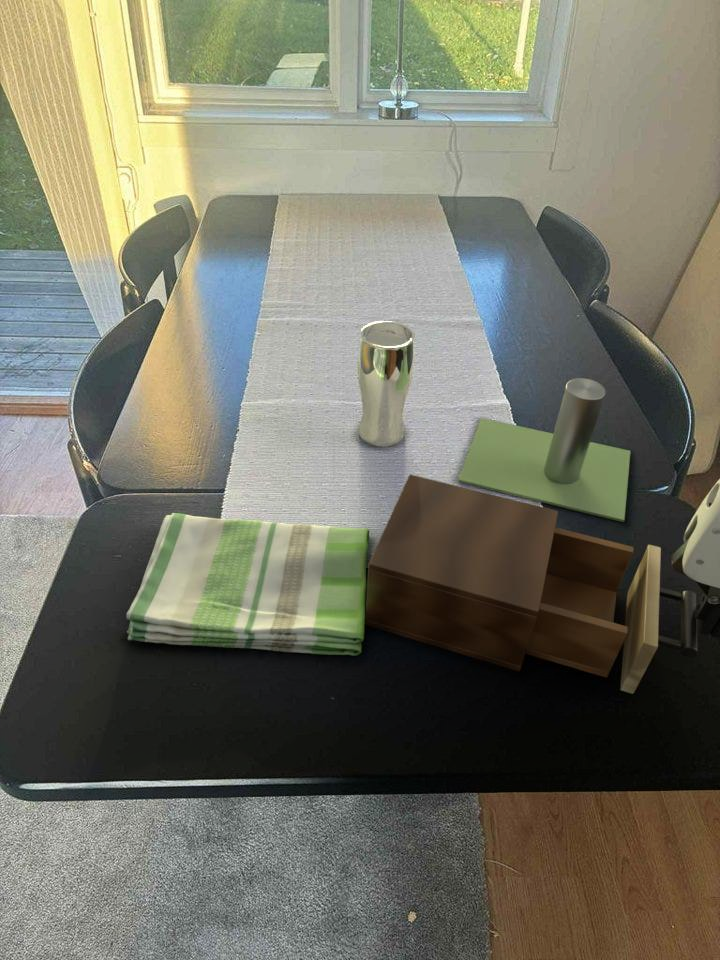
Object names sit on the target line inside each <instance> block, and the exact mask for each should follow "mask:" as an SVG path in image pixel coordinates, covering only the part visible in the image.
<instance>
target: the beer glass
mask: <svg viewBox="0 0 720 960" xmlns="http://www.w3.org/2000/svg"><path fill="white" fill-rule="evenodd" d="M359 336H360V338H359V344H358V346H359V347H358V355H357V379H358V386H359V391H360V398H361V405H362V414H361V420H360V424H359V426H358V427H359V428H358V434H359V437H360V439H361V440H362V441H363V442H365V443H366V444H368V445H371V446H374V447H379V448H383V447H384V448H385V447H391V446H395V445H396V444H397V445H398V443H400V442H401V441H402V440H403V438H404V436H405V426H404V419H403V414H404V408H405V404H406V401H407V397H408V394H409V390H410V387H411V384H412V379H413V375H414V365H415V332H414V331H413V330H412V328H410V327H409V326H408V325H406V324H404V323H401V322H397V321H391V320H385V321H384V320H380V321H374V322H371V323H368V324H367V325H365V326H363V328H361V331H360V335H359Z"/></svg>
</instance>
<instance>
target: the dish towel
mask: <svg viewBox="0 0 720 960" xmlns="http://www.w3.org/2000/svg"><path fill="white" fill-rule="evenodd" d="M370 532H371V531H370V529H368V528H364V527H362V528H355V527H353V528H352V527H343V526H342V527H341V526H329V525H327V526H325V525H315V524H306V523H281V522H270V521H269V522H268V521H262V520H251V519H238V518H237V519H236V518H235V519H228V518H223V519H222V518H215V517H214V518H213V517H206V516H196V515H195V516H194V515H191V514H185V513H180V512H172V513H171V514H166V515H165V516H164V518H163V520H162V523H161V525H160V529H159V532H158V534H157V537H156V539H155V543H154V546H153V548H152V552H151V555H150V557H149V560H148V563H147V565H146V569H145V571H144V575H143V577H142V581H141V584H140V587H139V589H138V591H137V593H136V595H135V597H134V599H133V601H132V602H131V604H130V607H129V609H128V611H127V612H126V614H125V615H126V619H127V620H128V621H130V622H129V625H128V630H127V631H126V633H127V635H128V636H127V640H128V641H136V642H144V643H154V644H167V645H175V646H176V645H177V646H193V647H194V646H195V647H196V646H197V647H198V646H199V647H211V648H213V647H214V648H215V647H216V648H226V649H228V648H229V649H236V648H238V649H254V650H255V649H256V650H265V651H272V652H282V653H299V654H312V655H325V656H326V655H329V656H333V655H335V656H338V655H339V656H352V657H354V656H355V657H356V656H358V655H360V654H361V653H362V642H363V641H364V640H365V626H366V625H365V618H366V594H367V562H368V551H369V547H368V546H369V543H370Z"/></svg>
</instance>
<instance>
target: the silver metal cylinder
mask: <svg viewBox="0 0 720 960" xmlns="http://www.w3.org/2000/svg"><path fill="white" fill-rule="evenodd" d="M605 396H606V389H605V387H604V386H603V385H602V384H601V383H599V382H598V381H595V380H593V379H591V378H590V379H589V378H583V377H580V378H579V377H578V378H573V379H570V380H569V381H567V383H566V385H565V389H564V392H563V396H562V400H561V403H560V407H559V411H558V415H557V418H556V423H555V426H554V430H553V433H552V434H553V437H552V441H551V444H550V448H549V452H548V456H547V459H546V463H545V467H544V473H545V475H546V476H547V477H548V478H549V479H550V480H552V481H554V482H556V483H560V484H572V483H574V482H576V481H577V480H578V479H579V476H580V473H581V470H582V466H583V463H584V460H585V457H586V454H587V450H588V447H589V444H590V442H592V441H591V440H592V437H593V435H594V431H595V428H596V425H597V422H598V417H599V415H600V411H601V409H602V406H603V402H604V399H605Z"/></svg>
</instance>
